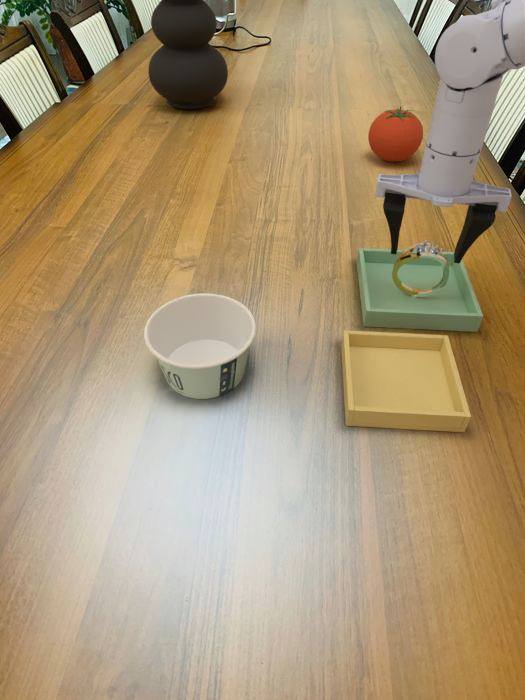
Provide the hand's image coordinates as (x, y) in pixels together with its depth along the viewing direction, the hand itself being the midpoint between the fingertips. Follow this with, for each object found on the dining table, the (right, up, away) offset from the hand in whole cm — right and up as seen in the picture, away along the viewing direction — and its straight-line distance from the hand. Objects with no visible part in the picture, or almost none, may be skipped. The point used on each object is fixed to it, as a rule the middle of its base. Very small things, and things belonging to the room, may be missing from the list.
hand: (425, 254), depth 64 cm
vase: (-38, +48, +60) cm, 86 cm away
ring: (0, -5, +5) cm, 7 cm away
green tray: (0, -4, +6) cm, 7 cm away
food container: (-27, -14, -4) cm, 31 cm away
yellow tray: (-5, -16, -6) cm, 18 cm away
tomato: (+5, +26, +37) cm, 46 cm away
